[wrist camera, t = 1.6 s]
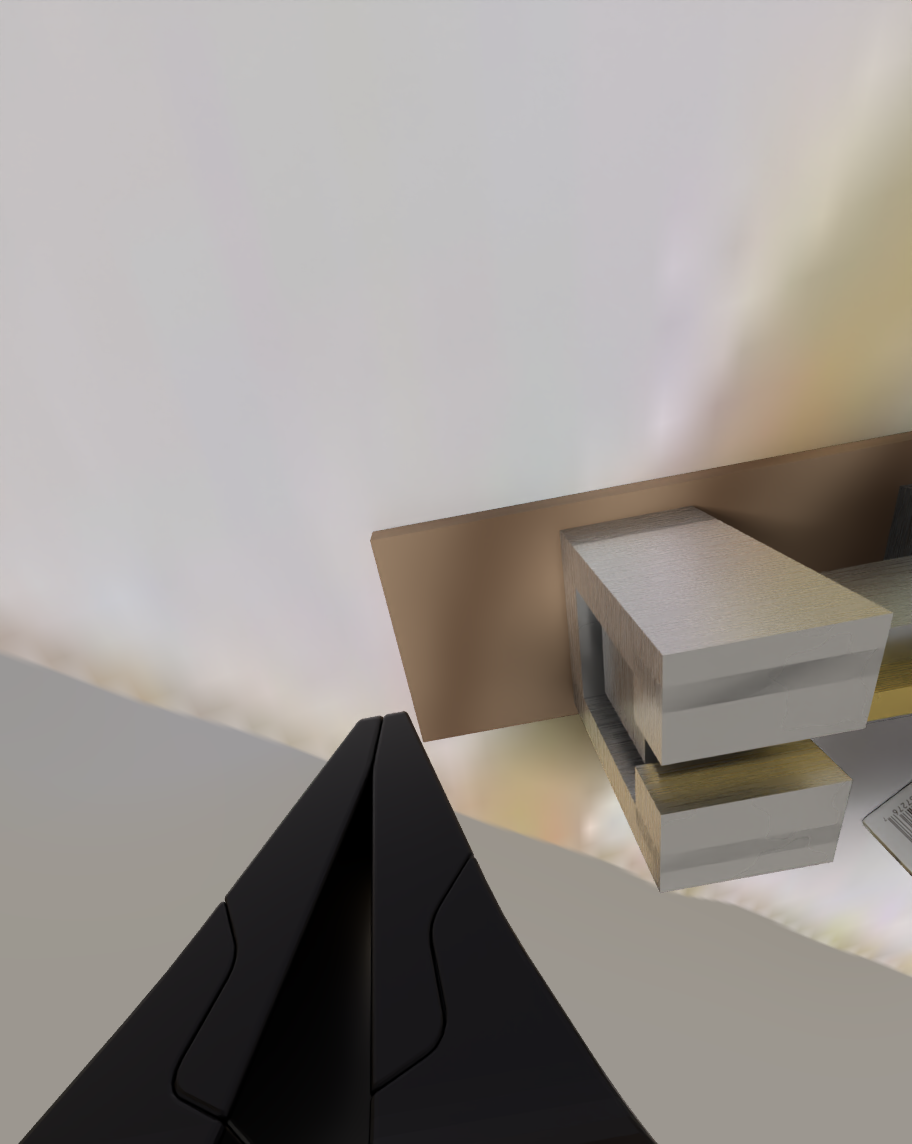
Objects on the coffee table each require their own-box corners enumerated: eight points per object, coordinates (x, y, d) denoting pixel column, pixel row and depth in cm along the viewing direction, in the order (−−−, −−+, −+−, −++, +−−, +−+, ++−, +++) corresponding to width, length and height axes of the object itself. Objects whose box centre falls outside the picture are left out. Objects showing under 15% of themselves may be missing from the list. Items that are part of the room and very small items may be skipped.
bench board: (1007, 413, 15) (1037, 416, 14) (941, 631, 18) (964, 642, 17) (372, 531, 15) (370, 540, 14) (423, 726, 18) (423, 742, 17)
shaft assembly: (585, 681, 17) (675, 856, 11) (575, 546, 15) (681, 672, 9) (952, 614, 17) (1246, 753, 11) (996, 468, 15) (1393, 541, 9)
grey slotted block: (574, 703, 17) (660, 892, 11) (559, 530, 14) (662, 655, 8) (685, 682, 17) (832, 861, 11) (691, 505, 14) (893, 612, 8)
